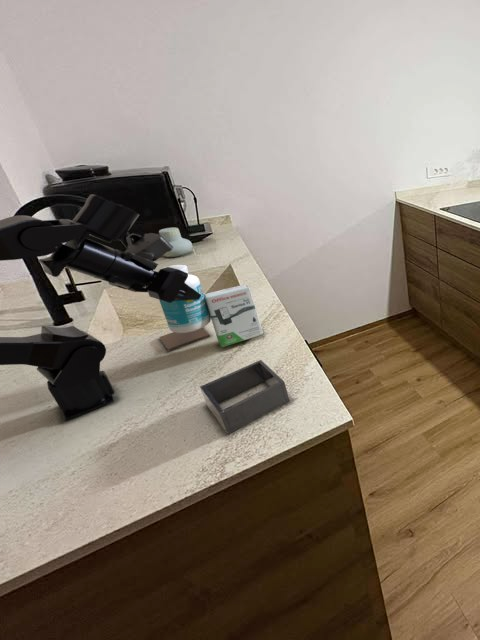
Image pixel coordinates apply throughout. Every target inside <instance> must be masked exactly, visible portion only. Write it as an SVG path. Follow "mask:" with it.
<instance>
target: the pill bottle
mask: <svg viewBox="0 0 480 640" xmlns="http://www.w3.org/2000/svg"><path fill="white" fill-rule="evenodd" d="M166 267H170V268H174V269H178V270H181V271H183V272H186V273H188V277H187V279H186V281H185V283H186V284H187V285H188V286H190V287H191V288H192V289H194V290H195V291H197V292H198V293H199V294H201V297H200V299H199V300H179V301H173V302H171V303H168V302H165V301H162V300H159V299H158V301H159V304H160V307H161V309H162V312H163V315H164V317H165V321H166V323H167V326H168V329H169V330H170V331H171V333H173V332H175V333H187V332H192V331H195V330H198V329H201V328H204V327H206V326H208V325H209V324H210V323H211V322H212V320H211V317H210V314H209V311H208V307H207V304H206V301H205V297H204V295H205V294H204V291H203V287H202V285H201V281H200V278H199V277H198V276H196V275H195V274H190V273H189V269H188V266H187V265H185V264H175V265H169V266H165V267H161V269H163V268H166ZM157 272H159V270H157Z"/></svg>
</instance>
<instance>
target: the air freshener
mask: <svg viewBox="0 0 480 640" xmlns="http://www.w3.org/2000/svg"><path fill="white" fill-rule="evenodd" d="M158 234H159V235H162V236H163V237H164V238H165V239H166V240H167V241H168V242H169V243H170V244H171V245H172V246H173V249H172V250H171V251H169V252H166V253H165V254H164V255H163V256H162V257H167V258H177V257H181V256H184V255H187V254H188V253H189V252H191V251H192V250H193V243H192V241H190V240H189V239H187V238H183V237H182V235H181V232H180V229H179V228H178V227H166V228H162V229H159V230H158Z"/></svg>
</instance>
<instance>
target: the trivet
mask: <svg viewBox="0 0 480 640" xmlns="http://www.w3.org/2000/svg"><path fill="white" fill-rule="evenodd" d="M210 336H211V335H210V333H208V331H207V330H206V329H205V328H204V327H203V328H201V329H198V330H195V331H192V332H187V333H175V332H170V333H167V334H164V335H161V336H159V339H160V341H161V343H162V344H163V345H164V346H165V348H166V350H167V351H168V352H172V351H174V350H176V349H180V348H182V347H185V346H187V345H190V344H193V343H196V342H199V341H202V340H204V339H207V338H210Z"/></svg>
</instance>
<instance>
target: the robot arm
mask: <svg viewBox="0 0 480 640" xmlns="http://www.w3.org/2000/svg"><path fill="white" fill-rule="evenodd" d="M139 216H140V214H139V213H138V212H136V211H135V210H132V209H131V208H129V207H127V206H125V205H122V204H118V203H116V202H113V201H111V200H108V199H106V198H103V197H102V196H99V195H96V194H89V196H87V198H86V200H85V203H84V204H83V206H82V207H81V209H79V211H78V213H76V215H75V216H74V218H73V219H72V220H71V219H68V218H60V219H46V220H45V219H44V220H42V219H39V218H36V217H34V216H30V215H23V214H21V215H13V216H9V217H5V218H3V219H0V262H1V261H16V260H23V259H24V260H25V259H32V258H39V257H44V258H39V259H38V263H40V264H41V266H42V270H43V272H44V273H45V274H48V275H49V276H52V277H54V278H57V277H59V276H60V275H61V274H62V273H63V271H64V270H65V268H66V269H68V270H72V271H75V272H77V273H81V274H82V275H86V276H90V277H93V278H95V279H97V280H101V281H104V282H106V283H108V285H110V286H113V287H116V288H119V289H123V290H127V291H131V292H132V293H133V292H134V293H148V296H149V297H150V298H152V299H156V300H158V301H159V300H162V301H165V302H168V303H171V302H173V301H179V300H199V299H200V297H201V294H199V293H198V292H197V291H195V290H194V289H192V288H191V287H190V286H188V285H187V284H186V283H185V281H186V279H187V277H188V274H189V272H188V273H186V272H183V271H181V270H178V269H174V268H170V267H168V266H165V267H166V268H164V267H162V268H163V269H162V268H160V269H158V271H159V272H158V271H156V269H157V267H158V266H159V263H158V262H156V261H158V260H159V259H160V258H162V257H164V256H163V255H164V254H165V253H166V252H169V251H171V250H172V249H173V246H172V245H171V244H170V243H169V242H168V241H167V240H166V239H165V238H164V237H163V236H162V235H160V234H159V233H155V232H154V233H153V232H149V233H144V234H143V235H141V234H137V233H133V232H132V233H130V234H129V235H128V236H126V234H127V233H128V232H129V231H130V230H131V228H132V226H133V225H134V223H135V222H136V221H137V219H138V218H139ZM89 236H91V237H93V238H96V239H99V240H101V241H103V242H106V243H109V244H111V243H112V242H113V241H114V242H118V241H122V240H123V239H124V237H125V236H126V237H125V240H126V243H127V249H126V250H125V251H123V250H121V249H117V248H116V249H115V248H113V247H110V246H107V245H104V244H102V243H100V242H97V241H95V240H93V239H91V238H88V237H89ZM45 256H47V257H45ZM106 355H107V348H106V346H105V344H104V343H103V342H102V341H101V340H99V339H97V337H94V336H93V335H92V334H90V333H88V332H87V331H84V330H81V329H79V328H77V327H76V326H74V325H71V326H70V325H69V326H65V327H59V326H58V327H57V326H50V325H42V326H41V332H40V333H37V334H32V335H28V336H0V366H14V365H15V366H17V365H24V366H31V367H37V368H36V371H37V372H38V373H39V374H40V375H42V376H43V377H44V378H45V379H46V380H47V381H46V384H47V389H48V392H49V393H50V394H51V396H52V398H53V400H54V401H55V403H56V404H57V406H58V407H59V409H60V411H61V414H62V418H63V421H65V422H67V421H69V420H72V419H74V418H77V417H79V416H82V415H84V414H87V413H90V412H92V411H94V410H97V409H99V408H102V407H104V406H106V405H109V404H112V403H113V402H115V398H114V396H113V395H114V394H115V389H114V388H113V385H112V383H111V381H110V379H109V377H108V375H107V373H106V371H105V370H101V362H102V361H103V360H104V358H105V356H106Z"/></svg>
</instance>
